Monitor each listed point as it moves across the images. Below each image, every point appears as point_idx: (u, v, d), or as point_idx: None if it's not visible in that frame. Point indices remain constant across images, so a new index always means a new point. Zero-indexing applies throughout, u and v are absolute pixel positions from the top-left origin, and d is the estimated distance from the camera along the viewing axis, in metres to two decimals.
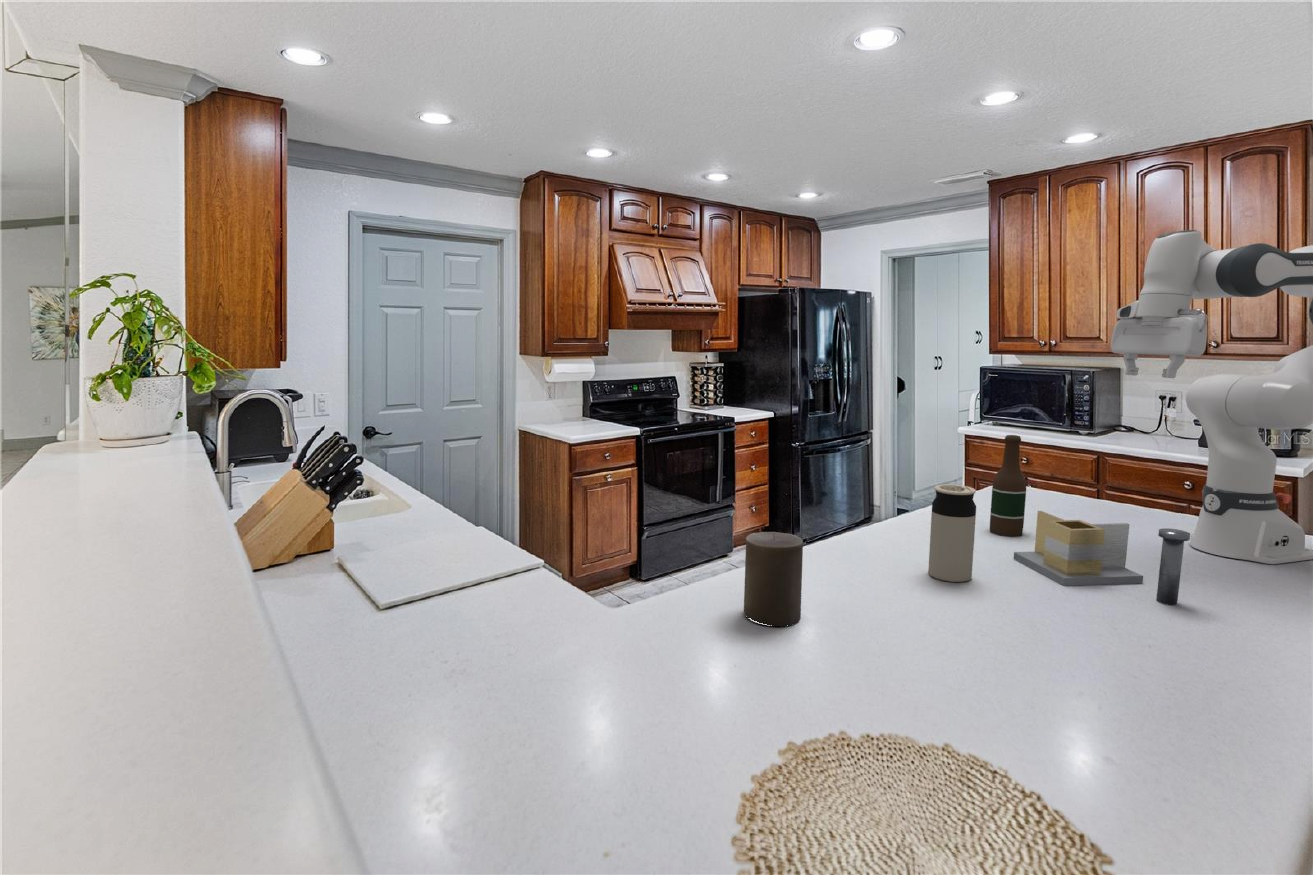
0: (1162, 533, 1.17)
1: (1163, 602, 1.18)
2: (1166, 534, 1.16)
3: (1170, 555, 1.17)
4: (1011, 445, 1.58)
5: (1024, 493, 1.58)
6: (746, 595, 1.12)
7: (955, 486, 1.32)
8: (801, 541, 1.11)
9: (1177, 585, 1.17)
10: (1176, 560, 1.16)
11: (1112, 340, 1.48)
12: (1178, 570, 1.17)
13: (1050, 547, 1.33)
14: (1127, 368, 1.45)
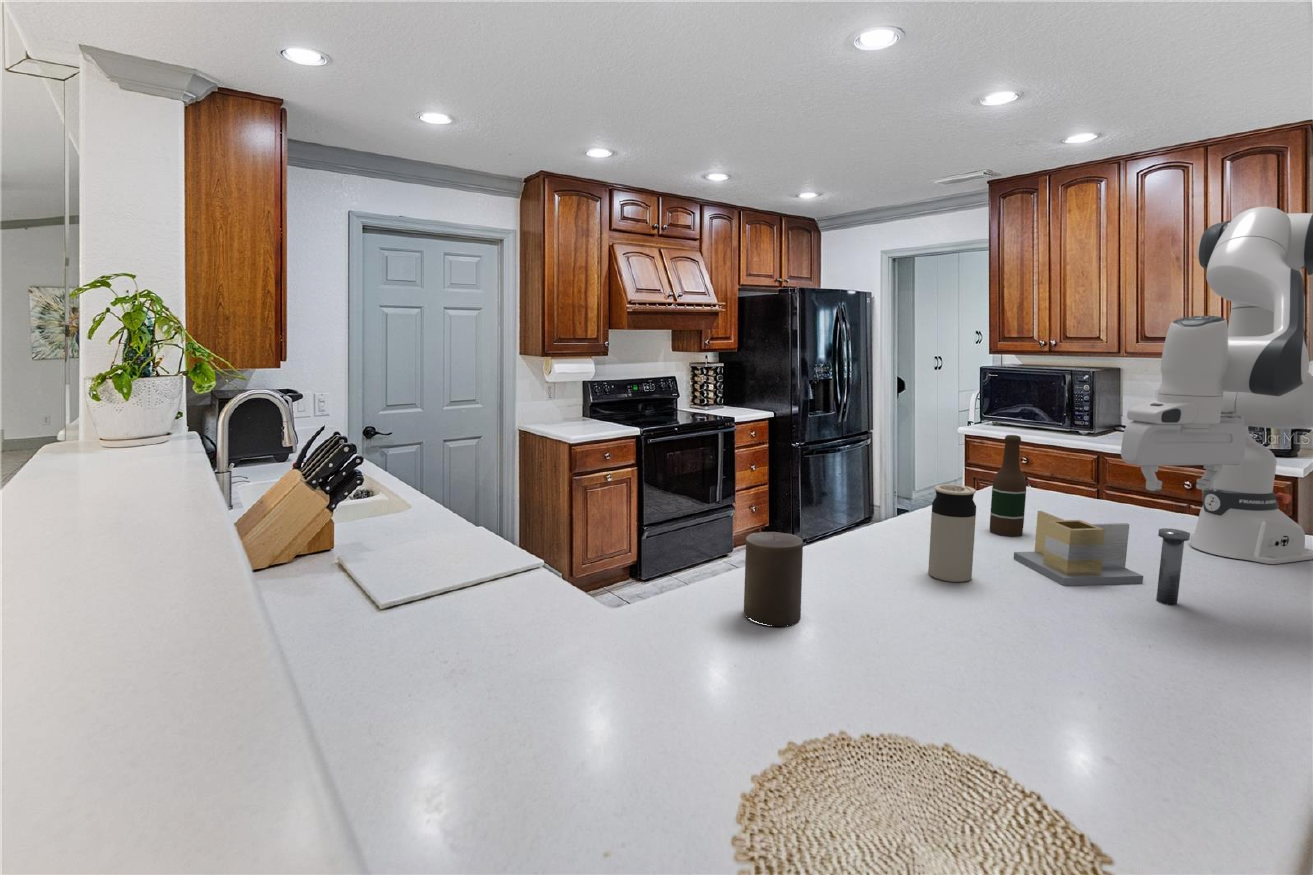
0: (1162, 533, 1.17)
1: (1163, 602, 1.18)
2: (1166, 534, 1.16)
3: (1170, 555, 1.17)
4: (1011, 445, 1.58)
5: (1024, 493, 1.58)
6: (746, 595, 1.12)
7: (955, 486, 1.32)
8: (801, 541, 1.11)
9: (1177, 585, 1.17)
10: (1176, 560, 1.16)
11: (1142, 450, 1.12)
12: (1178, 570, 1.17)
13: (1050, 547, 1.33)
14: (1156, 483, 1.15)
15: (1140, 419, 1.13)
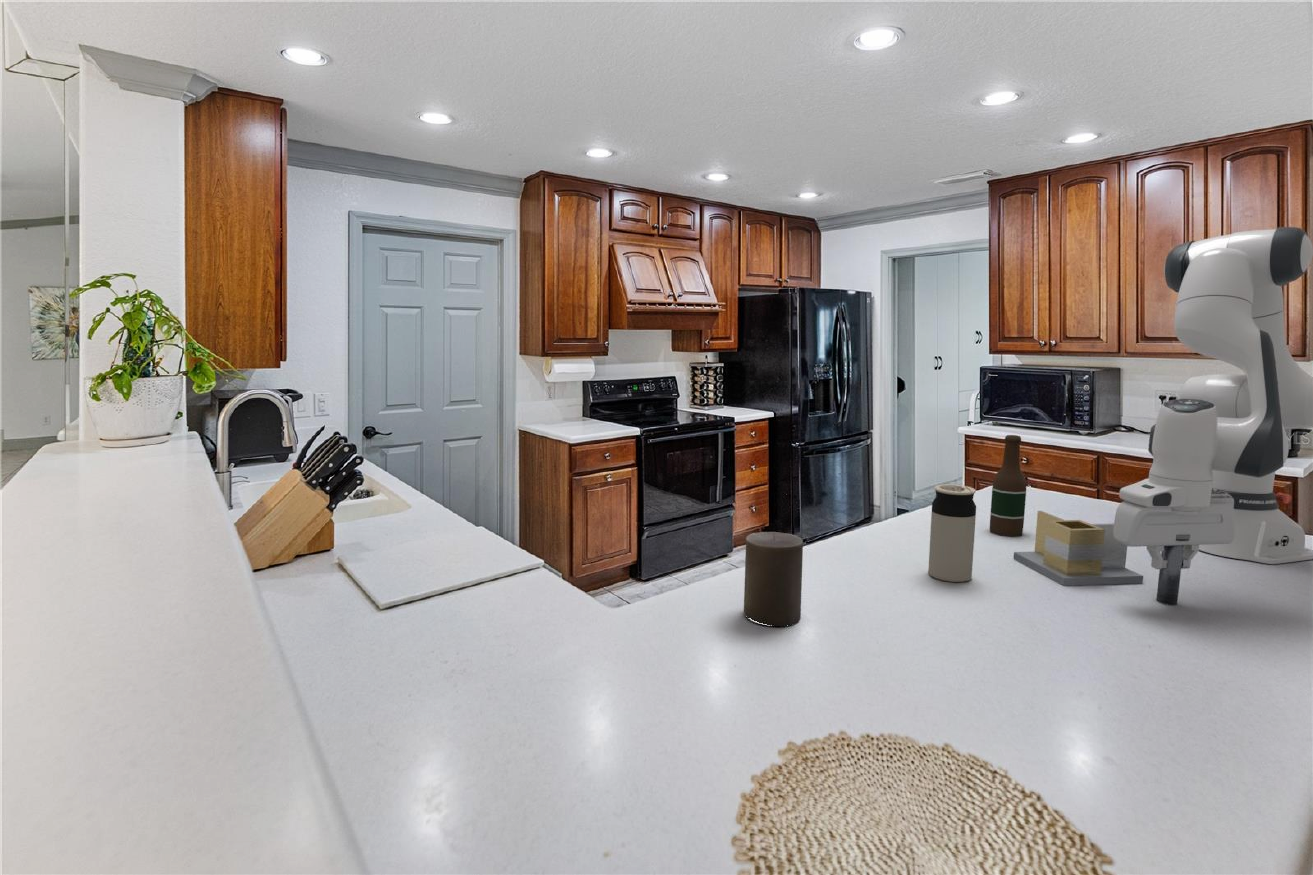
0: None
1: (1163, 602, 1.18)
2: None
3: (1170, 555, 1.17)
4: (1011, 445, 1.58)
5: (1024, 493, 1.58)
6: (746, 595, 1.12)
7: (955, 486, 1.32)
8: (801, 541, 1.11)
9: (1177, 585, 1.17)
10: (1176, 560, 1.16)
11: (1133, 533, 1.15)
12: (1178, 570, 1.17)
13: (1050, 547, 1.33)
14: (1162, 562, 1.17)
15: (1132, 501, 1.16)
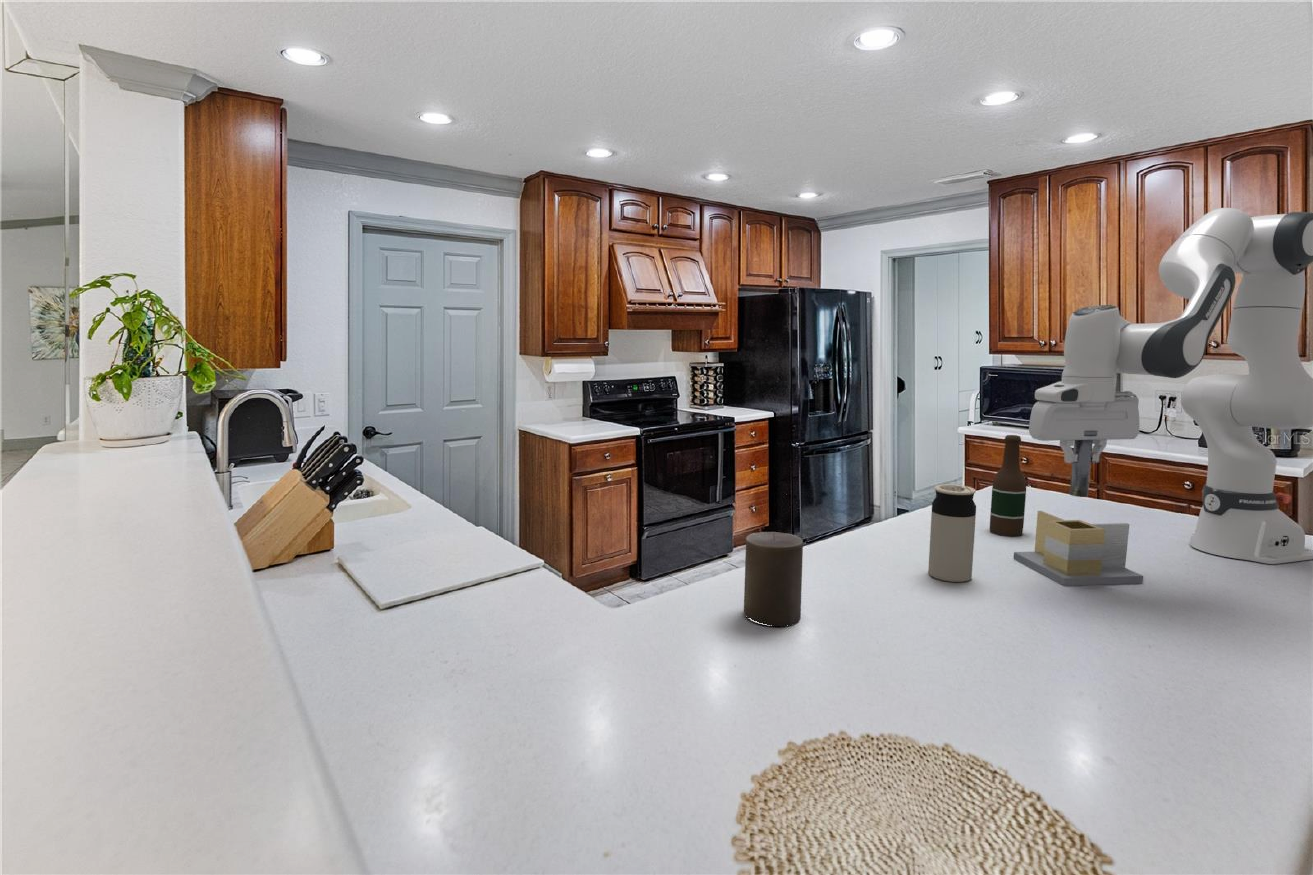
0: None
1: (1075, 495, 1.29)
2: None
3: (1080, 450, 1.28)
4: (1011, 445, 1.58)
5: (1024, 493, 1.58)
6: (746, 595, 1.12)
7: (955, 486, 1.32)
8: (801, 541, 1.11)
9: (1087, 478, 1.28)
10: (1086, 455, 1.27)
11: (1045, 427, 1.25)
12: (1088, 464, 1.28)
13: (1050, 547, 1.33)
14: (1072, 456, 1.28)
15: (1044, 399, 1.26)
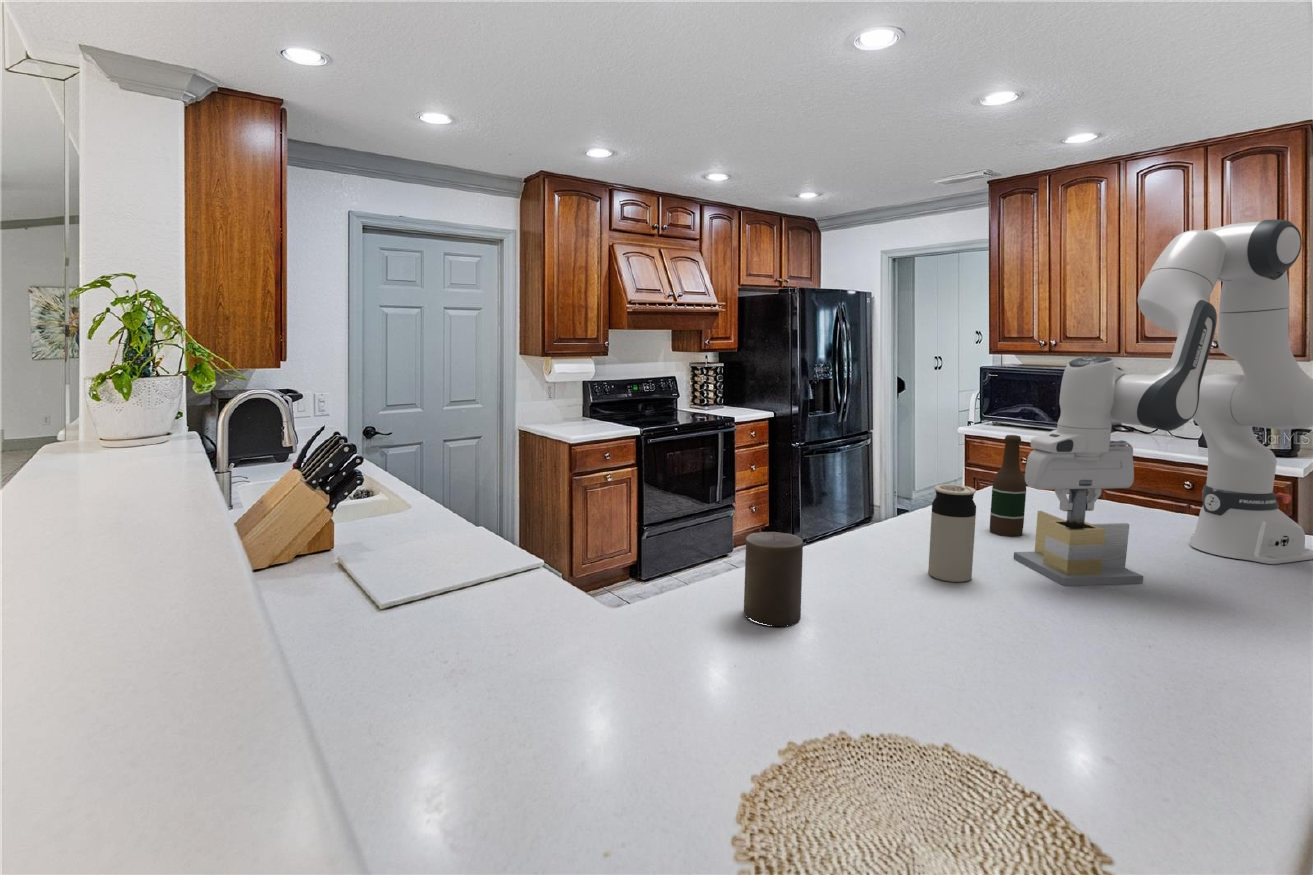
0: None
1: None
2: None
3: (1075, 499, 1.29)
4: (1011, 445, 1.58)
5: (1024, 493, 1.58)
6: (746, 595, 1.12)
7: (955, 486, 1.32)
8: (801, 541, 1.11)
9: (1082, 526, 1.29)
10: (1080, 503, 1.29)
11: (1040, 476, 1.27)
12: (1082, 512, 1.29)
13: (1050, 547, 1.33)
14: (1067, 504, 1.29)
15: (1040, 448, 1.28)
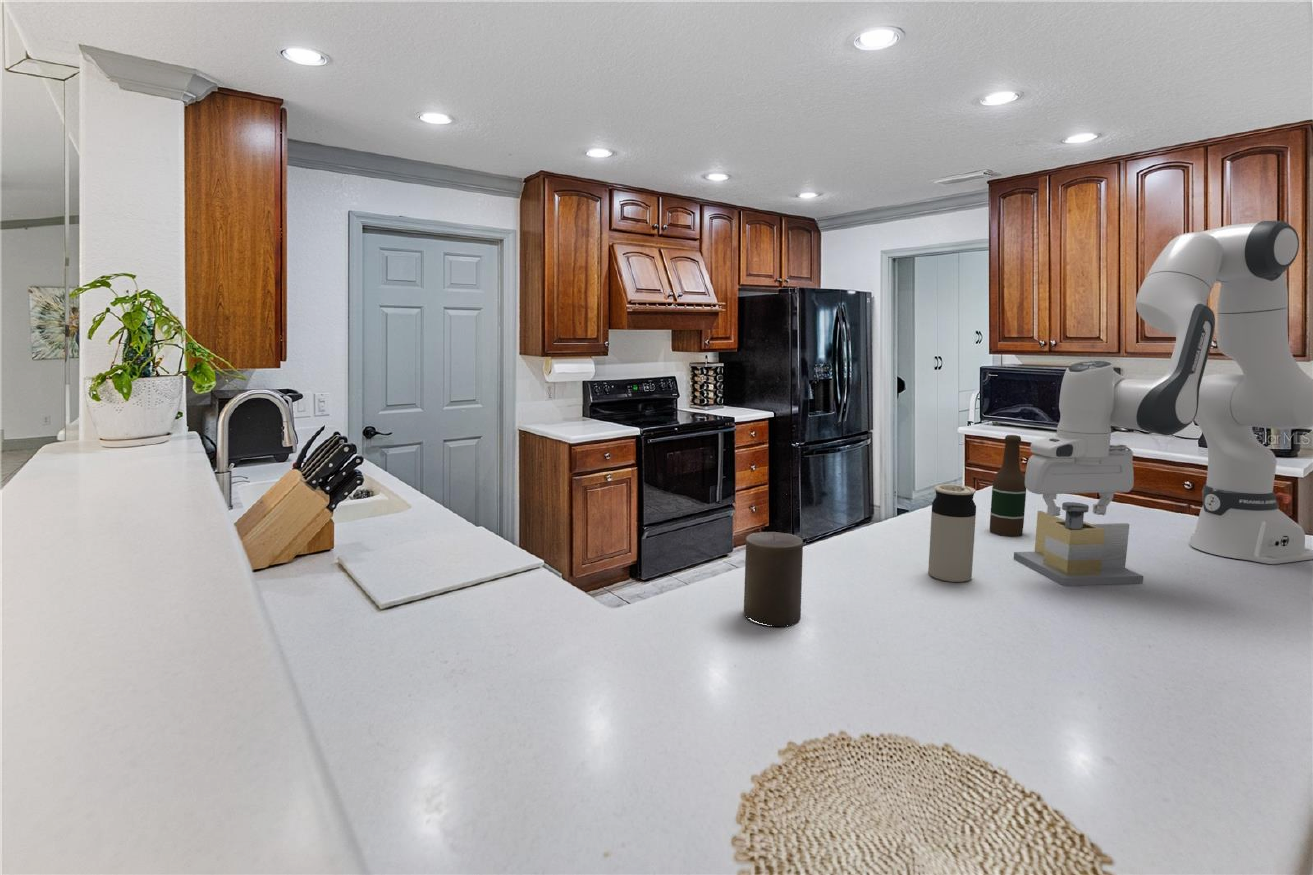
0: (1064, 506, 1.30)
1: None
2: (1067, 507, 1.30)
3: (1071, 526, 1.30)
4: (1011, 445, 1.58)
5: (1024, 493, 1.58)
6: (746, 595, 1.12)
7: (955, 486, 1.32)
8: (801, 541, 1.11)
9: None
10: None
11: (1040, 481, 1.27)
12: None
13: (1050, 547, 1.33)
14: (1055, 509, 1.29)
15: (1039, 453, 1.28)
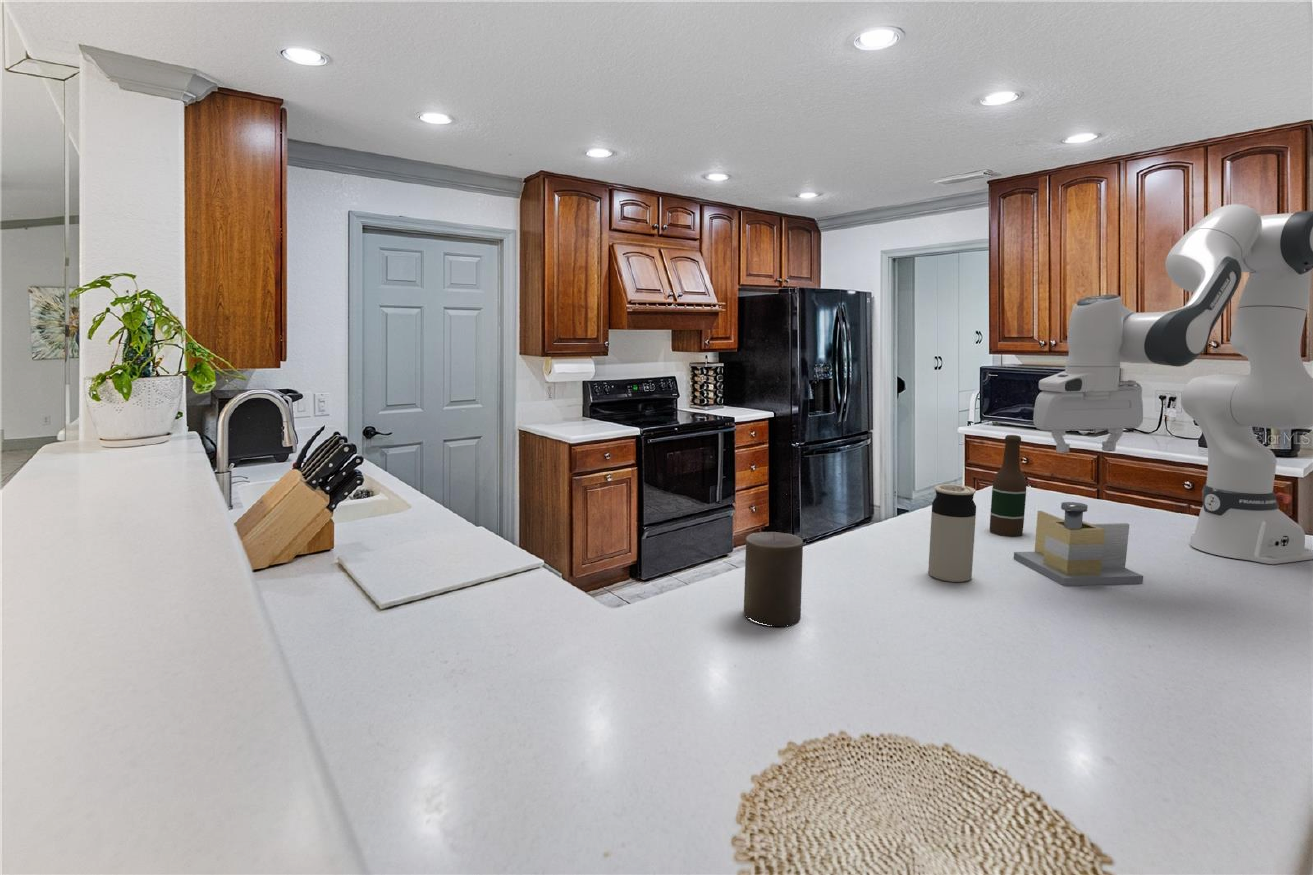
0: (1063, 506, 1.31)
1: None
2: (1066, 506, 1.30)
3: (1071, 525, 1.30)
4: (1011, 445, 1.58)
5: (1024, 493, 1.58)
6: (746, 595, 1.12)
7: (955, 486, 1.32)
8: (801, 541, 1.11)
9: None
10: None
11: (1049, 417, 1.26)
12: None
13: (1050, 547, 1.33)
14: (1064, 446, 1.28)
15: (1048, 389, 1.27)
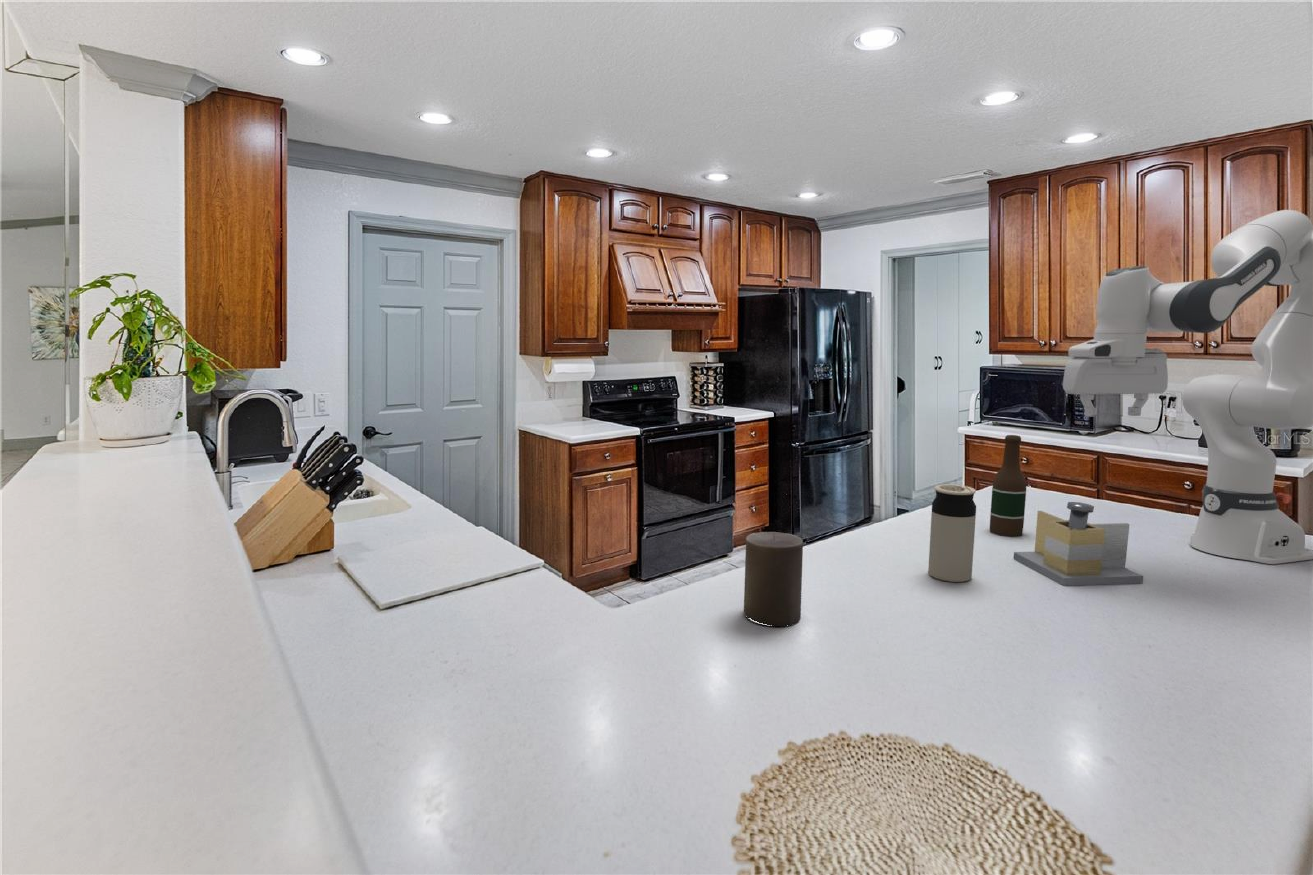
0: (1070, 505, 1.30)
1: None
2: (1073, 506, 1.30)
3: (1075, 525, 1.30)
4: (1011, 445, 1.58)
5: (1024, 493, 1.58)
6: (746, 595, 1.12)
7: (955, 486, 1.32)
8: (801, 541, 1.11)
9: None
10: None
11: (1079, 381, 1.33)
12: None
13: (1050, 547, 1.33)
14: (1092, 410, 1.35)
15: (1078, 355, 1.34)
